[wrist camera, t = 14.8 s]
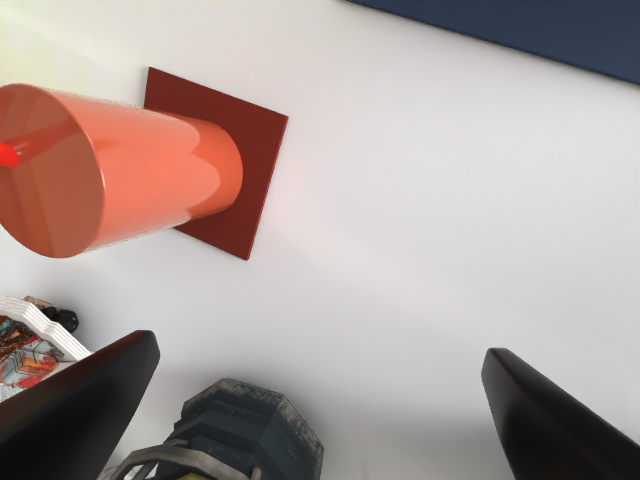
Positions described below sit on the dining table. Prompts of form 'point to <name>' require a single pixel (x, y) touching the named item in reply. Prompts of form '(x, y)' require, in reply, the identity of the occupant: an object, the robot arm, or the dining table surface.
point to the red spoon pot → (105, 170)
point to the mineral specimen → (35, 341)
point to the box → (105, 475)
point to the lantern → (232, 440)
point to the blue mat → (541, 28)
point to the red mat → (253, 145)
